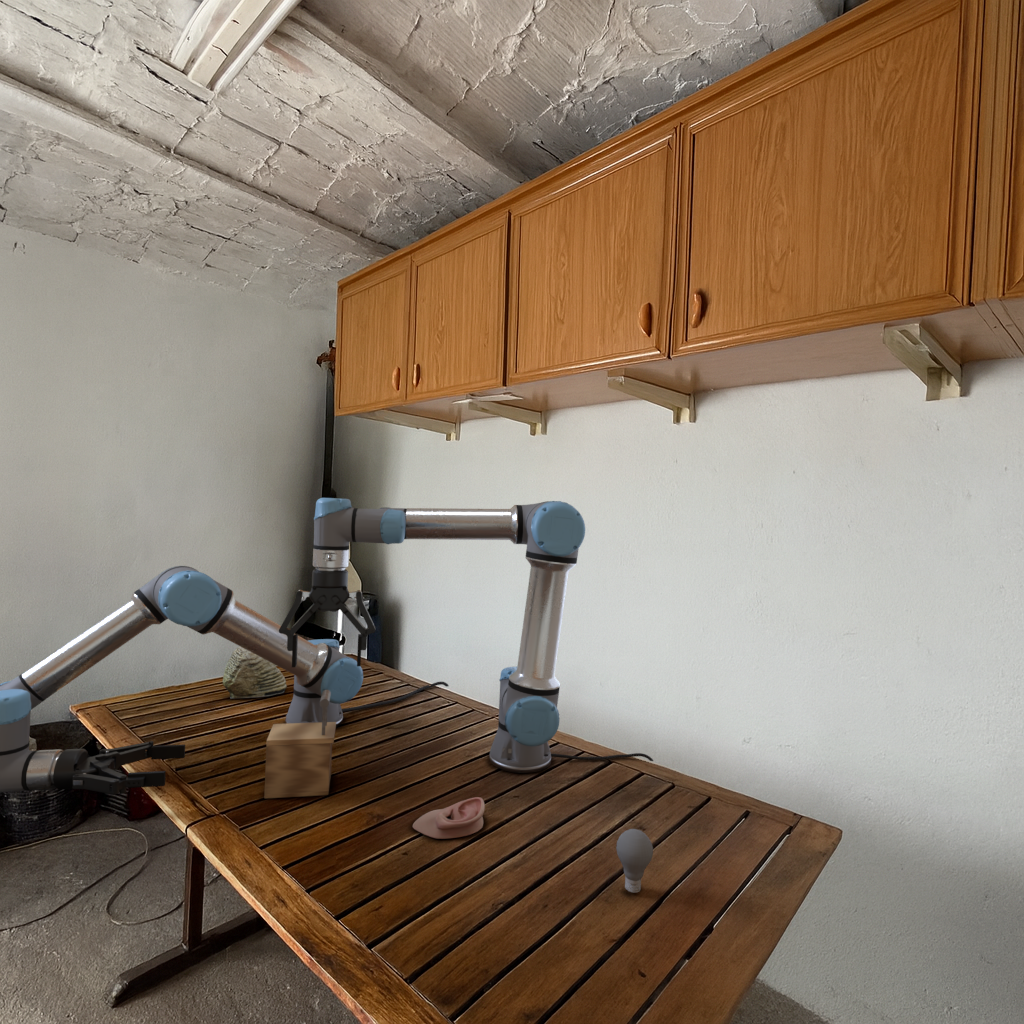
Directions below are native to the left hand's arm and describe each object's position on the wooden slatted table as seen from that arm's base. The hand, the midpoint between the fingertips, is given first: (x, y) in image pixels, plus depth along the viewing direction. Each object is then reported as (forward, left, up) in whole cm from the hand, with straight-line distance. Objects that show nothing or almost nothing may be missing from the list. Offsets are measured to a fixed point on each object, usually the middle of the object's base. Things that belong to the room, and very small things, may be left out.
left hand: (175, 764), depth 132 cm
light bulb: (-36, +88, -6) cm, 95 cm away
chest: (-20, +15, -6) cm, 26 cm away
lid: (-20, +16, +5) cm, 26 cm away
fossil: (-45, -49, -6) cm, 67 cm away
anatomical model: (-30, +51, -6) cm, 59 cm away
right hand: (-23, +18, +20) cm, 36 cm away
